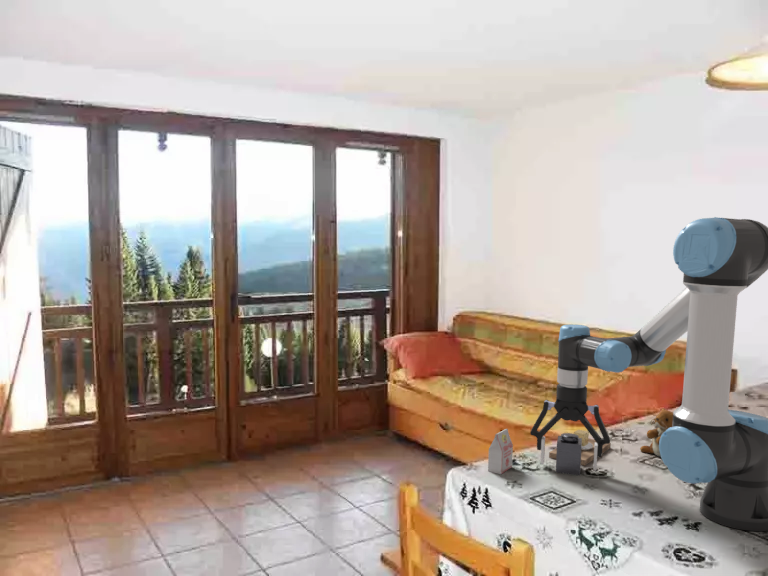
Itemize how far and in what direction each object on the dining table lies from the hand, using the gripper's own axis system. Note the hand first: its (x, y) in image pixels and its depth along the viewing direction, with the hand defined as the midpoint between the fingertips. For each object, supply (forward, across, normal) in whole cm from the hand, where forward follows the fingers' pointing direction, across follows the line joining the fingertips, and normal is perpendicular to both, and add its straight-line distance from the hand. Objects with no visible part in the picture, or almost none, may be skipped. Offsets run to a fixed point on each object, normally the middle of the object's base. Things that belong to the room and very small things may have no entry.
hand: (568, 465), depth 170 cm
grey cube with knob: (+1, 0, 0) cm, 1 cm away
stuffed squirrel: (+1, -27, -23) cm, 35 cm away
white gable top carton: (+2, +17, +6) cm, 18 cm away
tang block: (+1, -3, -16) cm, 16 cm away
